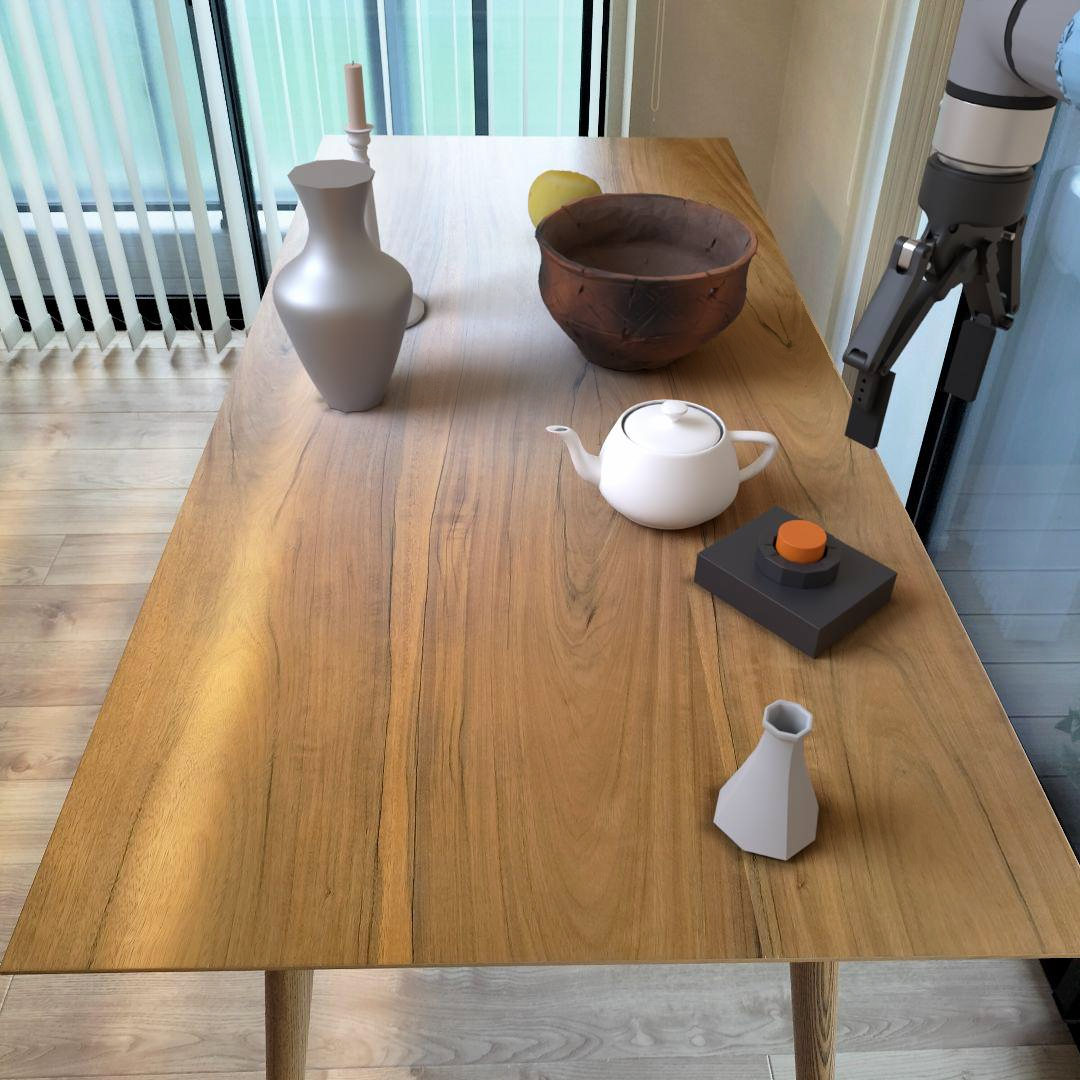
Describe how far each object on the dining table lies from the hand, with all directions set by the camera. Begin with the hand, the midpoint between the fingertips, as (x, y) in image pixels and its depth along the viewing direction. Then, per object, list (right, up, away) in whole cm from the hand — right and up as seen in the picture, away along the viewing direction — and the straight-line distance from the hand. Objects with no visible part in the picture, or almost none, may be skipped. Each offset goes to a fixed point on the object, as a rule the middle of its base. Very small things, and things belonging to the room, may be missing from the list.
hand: (911, 417), depth 90 cm
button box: (-9, -15, +4) cm, 18 cm away
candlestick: (-52, +19, +47) cm, 73 cm away
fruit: (-27, +33, +67) cm, 80 cm away
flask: (-15, -30, -15) cm, 37 cm away
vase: (-52, +6, +30) cm, 60 cm away
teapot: (-20, -7, +15) cm, 26 cm away
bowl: (-19, +12, +40) cm, 46 cm away
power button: (-9, -11, +2) cm, 14 cm away
